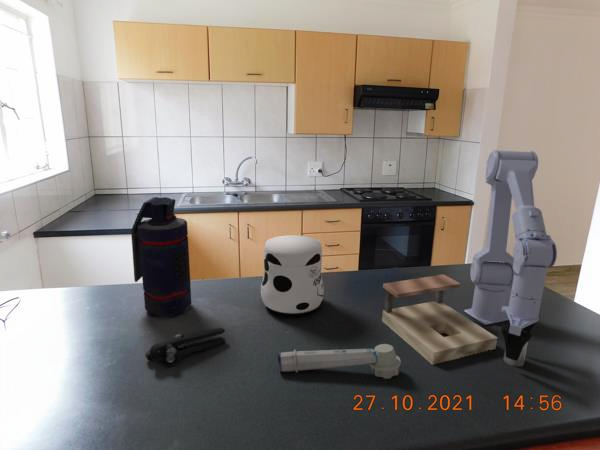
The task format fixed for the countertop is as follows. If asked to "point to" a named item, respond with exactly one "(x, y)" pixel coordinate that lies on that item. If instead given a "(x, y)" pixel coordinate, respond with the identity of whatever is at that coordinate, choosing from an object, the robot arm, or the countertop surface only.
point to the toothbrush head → (343, 360)
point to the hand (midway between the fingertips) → (515, 350)
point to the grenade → (162, 258)
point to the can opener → (170, 353)
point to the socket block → (434, 321)
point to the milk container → (292, 274)
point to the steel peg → (520, 359)
